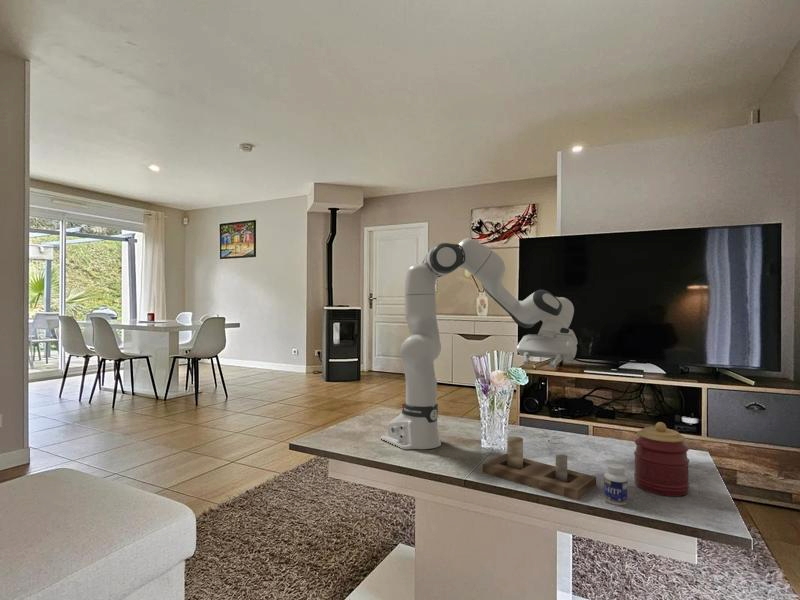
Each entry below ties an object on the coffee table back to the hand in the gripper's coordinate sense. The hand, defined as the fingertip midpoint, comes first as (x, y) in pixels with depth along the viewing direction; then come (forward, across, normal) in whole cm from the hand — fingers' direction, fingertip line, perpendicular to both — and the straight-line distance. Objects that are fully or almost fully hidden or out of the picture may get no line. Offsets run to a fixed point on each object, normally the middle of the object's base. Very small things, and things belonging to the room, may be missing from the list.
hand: (538, 365), depth 152 cm
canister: (+24, +38, +17) cm, 48 cm away
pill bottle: (+37, +32, +4) cm, 49 cm away
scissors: (+9, -9, +33) cm, 35 cm away
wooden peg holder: (+37, +11, +4) cm, 39 cm away
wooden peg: (+37, +4, +4) cm, 38 cm away
